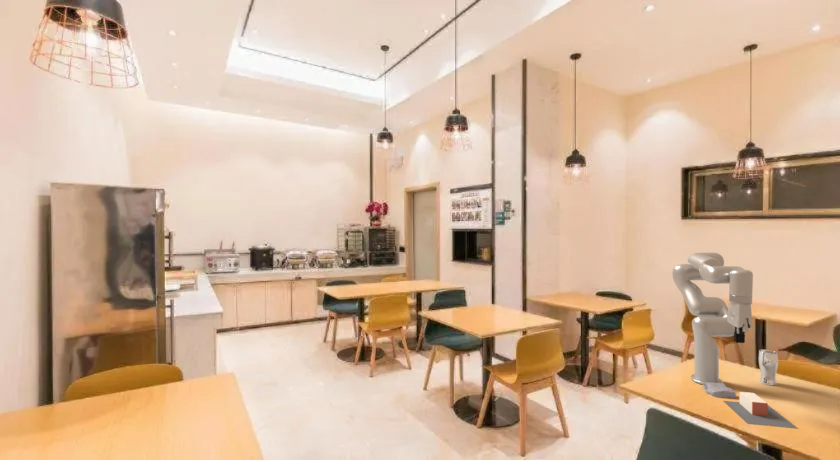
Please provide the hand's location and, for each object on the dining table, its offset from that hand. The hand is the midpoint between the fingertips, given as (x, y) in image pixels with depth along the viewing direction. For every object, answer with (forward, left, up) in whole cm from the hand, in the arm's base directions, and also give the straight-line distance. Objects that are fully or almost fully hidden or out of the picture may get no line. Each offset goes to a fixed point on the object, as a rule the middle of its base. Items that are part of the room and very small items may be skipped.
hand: (739, 342), depth 167 cm
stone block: (-10, -4, -27) cm, 29 cm away
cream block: (+10, +2, -23) cm, 26 cm away
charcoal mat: (+9, +2, -27) cm, 28 cm away
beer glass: (-29, +24, -27) cm, 46 cm away
